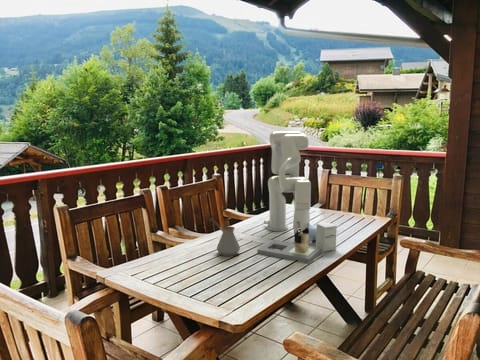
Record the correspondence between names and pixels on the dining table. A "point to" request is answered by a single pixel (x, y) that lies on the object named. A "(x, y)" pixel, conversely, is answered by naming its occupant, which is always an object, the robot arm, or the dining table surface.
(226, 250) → the coffee pot
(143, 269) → the dining table surface
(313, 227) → the hippopotamus toy
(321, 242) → the supplement box
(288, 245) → the puzzle board
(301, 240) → the maple block
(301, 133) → the robot arm
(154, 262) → the dining table surface
